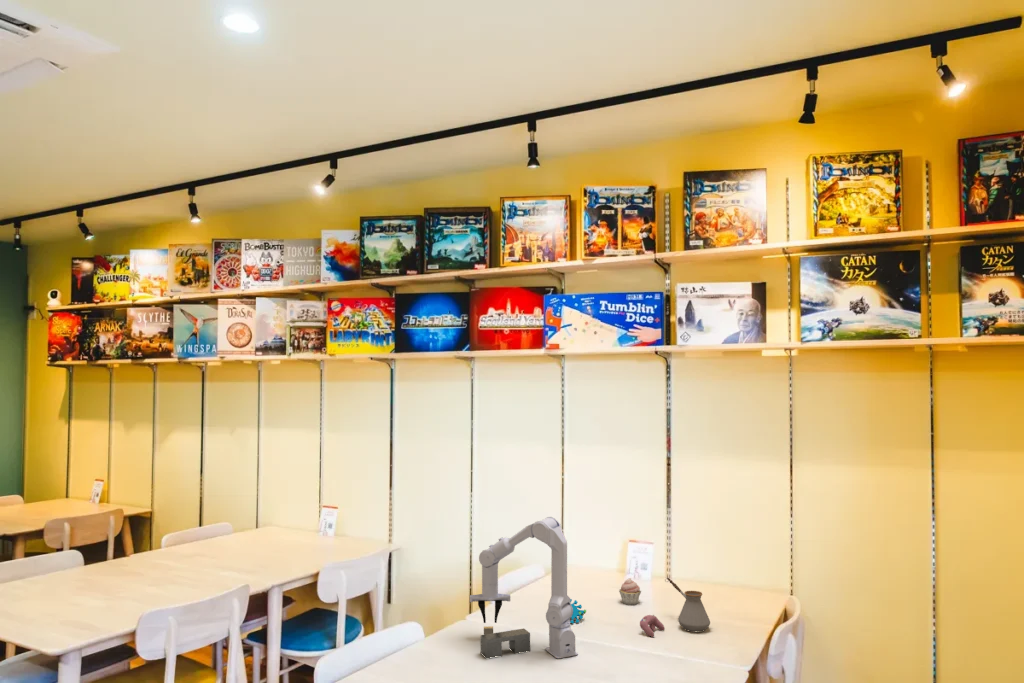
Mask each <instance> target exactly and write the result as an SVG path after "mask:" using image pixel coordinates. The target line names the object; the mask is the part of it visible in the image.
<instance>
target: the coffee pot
mask: <svg viewBox="0 0 1024 683" xmlns="http://www.w3.org/2000/svg"><path fill="white" fill-rule="evenodd" d="M666 580H667V581H666ZM664 582H665V583H669V584H671V586H672V587H673V588H674V589H675V590H676V591H677V592H679V593H680V594H681V595H682V596H683V598H685V601H684V604H683V606H682V608H681V610H680V613H679V616H678V618H677V621H678V624H679V625H680V627H682V628H683V629H684V630H685V629H686V630H685V631H687V630H689V631H688V632H690V631H703V630H705V631H706V629H708V628H709V627H710V625H711V621H710V618H709V616H708V613H707V611H706V608H705V606H704V604H703V601H702V599H701V598H702V596H703V593H702V591H699V590H698V591H697V590H686V591H682V589H681V588H680V587H679V586H678V585H677V584H676V583H675V582H673V580H672V579H671V578H670V577H669V576H668V577H667V578H666V579H664ZM703 632H704V631H703Z"/></svg>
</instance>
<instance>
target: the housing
mask: <svg viewBox="0 0 1024 683" xmlns="http://www.w3.org/2000/svg"><path fill="white" fill-rule="evenodd" d="M504 642H509V643H508V645H509V646H508V648H510V649H511V650H512V651H513V652H514V653H513V652H512V651H511V650H510V649H509V650H510V651H511V652H512V653H513V654H515V653H518V654H520V653H519V652H524V653H527V652H526V651H529V652H531V632H529V631H528V630H526V628H518V629H511V630H505V631H499V632H493V633H492V634H486V635H484V634H482V635H480V654H481V653H482V654H483V655H484V656H485V657H486V658H489V659H491V658H490V657H495V656H501V657H502V656H503V643H504ZM482 654H481V655H482ZM483 655H482V656H483ZM484 656H483V657H484ZM485 657H484V658H485ZM486 658H485V659H486ZM495 658H496V657H495Z"/></svg>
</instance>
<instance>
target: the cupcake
mask: <svg viewBox="0 0 1024 683" xmlns="http://www.w3.org/2000/svg"><path fill="white" fill-rule="evenodd" d="M618 592H619V594H620V598H621V602H622V603H623V604H625V605H628V606H629V605H630V606H634V605H637V604H638V603H639V600H640V595H641V594H642V590H641V587H640V586H639V585H638V584H637V582H635V581H634V580H632V578H631V577H630V578H628V579H626V580H624V583H622V584H621V587H620V589H619V590H618Z"/></svg>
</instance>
